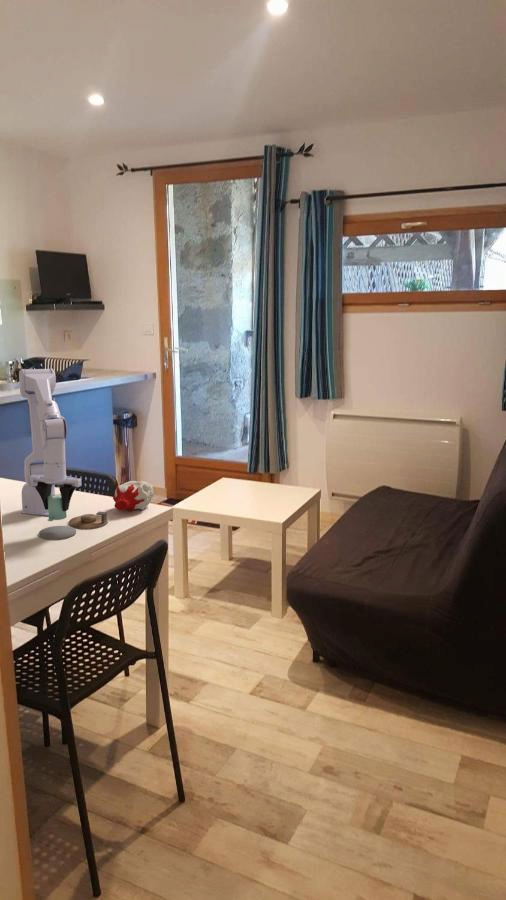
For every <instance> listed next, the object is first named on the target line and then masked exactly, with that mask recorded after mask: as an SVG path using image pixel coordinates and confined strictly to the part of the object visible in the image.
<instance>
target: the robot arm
mask: <svg viewBox="0 0 506 900" xmlns="http://www.w3.org/2000/svg"><path fill="white" fill-rule="evenodd" d="M18 380H19V381H18V382H19V392H20V396H21V397H22V398H25V399H26V400H27V403H28V407H29V418H30V419H29V420H30V421H29V422H30V433H31V434H30V435H31V443H32V445H31V447H32V452H31V453H30V454H28V456H26V457H25V458H24V462H23V463H24V464H23V465H24V466H23V475H24V482H25V483H24V484H23V486H22V489H21V511H20V513H21V514H26V515H27V514H28V515H38V516H47V517H49V513H48V496H50V495H56V486H57V485H58V486H61V487H59V488H58V489H59V494H61V497H62V509H63V511H66V512H67V511H68V510H69V509H70V503H71V499H72V496H73V494H74V492H75V490H76V488H79V487H81V486H82V478H77V477H73V476H69V475H67V466H66V465H67V464H66V463H67V461H66V460H67V459H66V443H65V442H66V440H65V439H67V436H68V425H67V421H66V418H65V417H64V416H63V415H61V412H60V409H59V405H58V403H57V402H56V401H54V400H53V393H54V391H55V389H56V385H57V383H56V382H57V376H56V372H55V370H54V369H53V368H52V367H51V368H38V369H37V368H29V369H27V368H21V369H20V370H19V372H18ZM55 485H56V486H55Z"/></svg>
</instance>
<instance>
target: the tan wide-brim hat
mask: <svg viewBox="0 0 506 900" xmlns="http://www.w3.org/2000/svg"><path fill="white" fill-rule="evenodd" d="M108 523H109V520H108V512H107V511H98V512H96V513H95V514H93V513H92V514H90V513H85V514H82V515H79V516H75V517H72V518H71V519H70V520H69V521H68V526H69V527H73V528H75V529H77V530H94V529H98V528H102V527H104V526H106V525H108Z"/></svg>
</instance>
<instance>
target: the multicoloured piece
mask: <svg viewBox="0 0 506 900" xmlns="http://www.w3.org/2000/svg"><path fill="white" fill-rule="evenodd" d="M154 490H155V489H154V486H153V485H152V484H150V483H149V482H147V481H144V480H143V481H138V480H130V481H127V482H124V483H122V484H120V485H117V486H116V489H115V491H114V494H113V496H112V499H113V501H114V506H113V507H115V509H116V510H117V511H127V512H134V511H137V510H138V509H140V510H141V511H143V510H145V508H146V507H147V506H149V505H150V503H151V501H152V499H153V498H154V495H155V493H154Z"/></svg>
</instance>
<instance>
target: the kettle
mask: <svg viewBox="0 0 506 900" xmlns="http://www.w3.org/2000/svg"><path fill="white" fill-rule="evenodd" d="M48 513H49V516H48V519H47V522H54V521H59V520H64V519H66V518H67V517H68V516H67V511H63V509H62V497H61V493H55V495H50V496H48Z"/></svg>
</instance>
